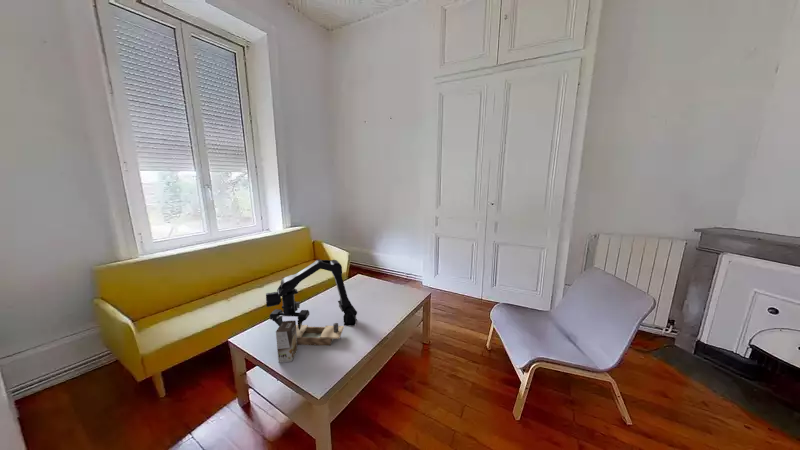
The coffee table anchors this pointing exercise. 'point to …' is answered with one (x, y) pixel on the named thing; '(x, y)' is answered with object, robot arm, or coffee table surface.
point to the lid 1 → (301, 331)
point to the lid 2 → (332, 332)
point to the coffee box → (286, 341)
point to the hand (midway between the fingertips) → (291, 329)
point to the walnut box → (313, 337)
